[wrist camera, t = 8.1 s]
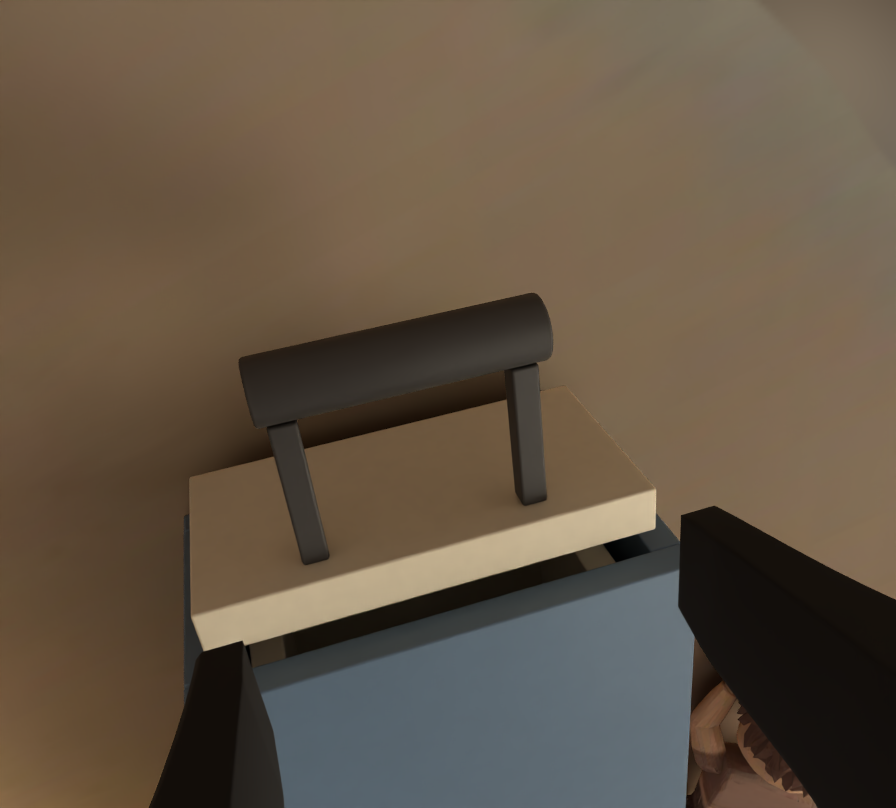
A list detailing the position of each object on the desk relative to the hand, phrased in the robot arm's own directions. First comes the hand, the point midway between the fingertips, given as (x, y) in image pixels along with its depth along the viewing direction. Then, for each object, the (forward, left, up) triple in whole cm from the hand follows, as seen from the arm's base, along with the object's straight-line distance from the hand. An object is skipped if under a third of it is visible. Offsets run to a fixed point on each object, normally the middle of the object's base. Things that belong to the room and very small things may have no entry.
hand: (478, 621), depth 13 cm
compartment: (-10, 0, -10) cm, 14 cm away
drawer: (-5, 0, -9) cm, 11 cm away
